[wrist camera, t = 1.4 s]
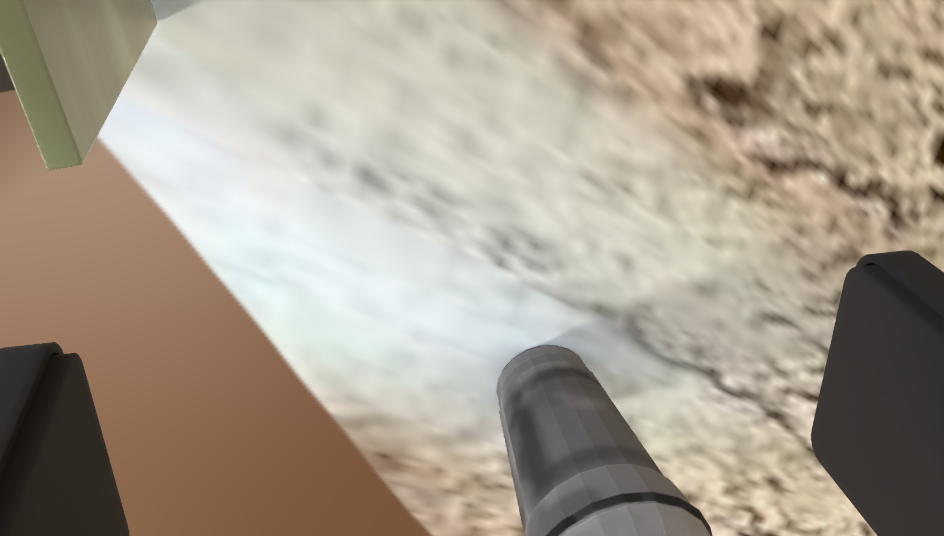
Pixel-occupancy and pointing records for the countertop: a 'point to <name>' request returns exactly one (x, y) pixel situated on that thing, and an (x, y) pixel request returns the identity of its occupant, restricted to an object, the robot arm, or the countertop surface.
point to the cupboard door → (70, 66)
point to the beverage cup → (581, 456)
